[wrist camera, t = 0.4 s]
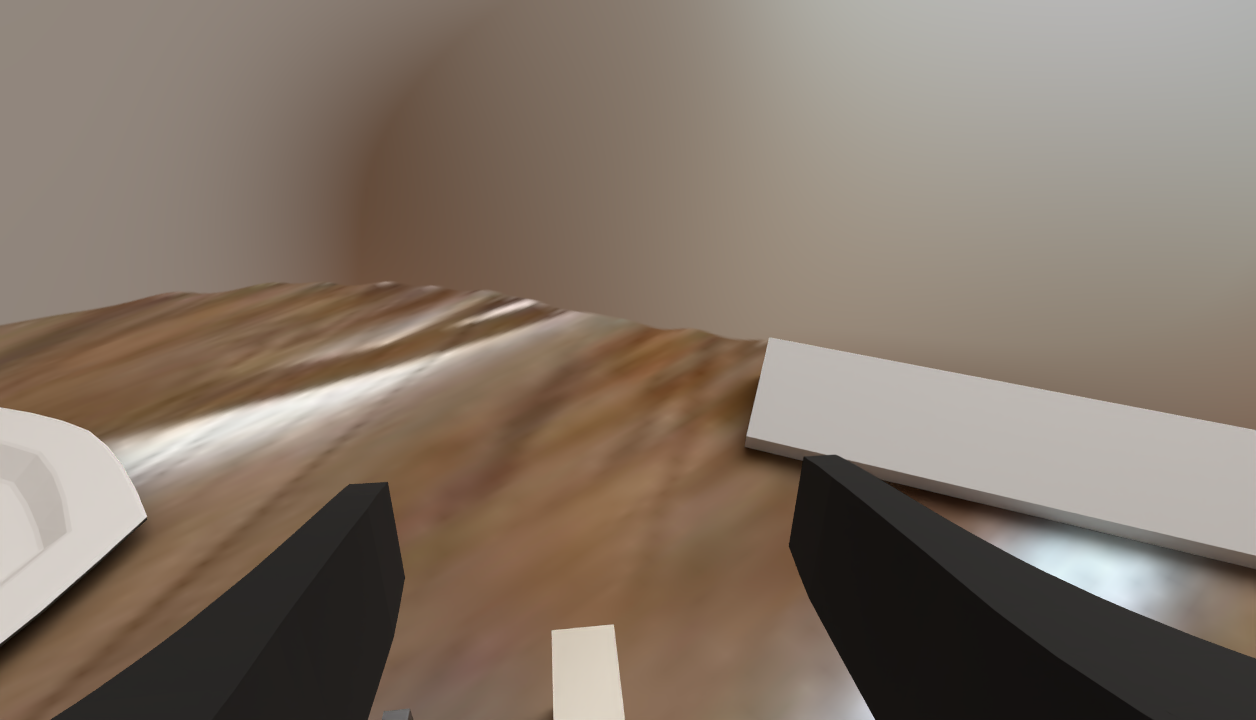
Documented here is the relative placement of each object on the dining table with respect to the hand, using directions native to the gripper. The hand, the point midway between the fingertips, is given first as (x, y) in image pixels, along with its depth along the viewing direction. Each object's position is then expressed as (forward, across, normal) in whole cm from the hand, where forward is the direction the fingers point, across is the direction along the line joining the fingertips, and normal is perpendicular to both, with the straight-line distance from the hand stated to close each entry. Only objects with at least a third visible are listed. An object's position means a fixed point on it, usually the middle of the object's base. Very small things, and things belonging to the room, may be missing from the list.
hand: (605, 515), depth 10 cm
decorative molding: (+23, -30, +17) cm, 42 cm away
